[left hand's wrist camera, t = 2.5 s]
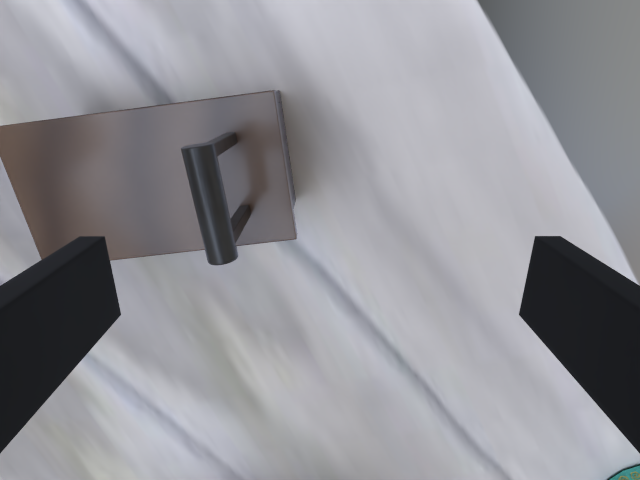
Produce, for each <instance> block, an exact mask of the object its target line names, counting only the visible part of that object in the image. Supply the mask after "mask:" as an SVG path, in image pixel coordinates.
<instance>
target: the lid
mask: <svg viewBox="0 0 640 480" xmlns="http://www.w3.org/2000/svg"><path fill="white" fill-rule="evenodd" d="M0 157H1V159H2V162H3V164H4V167H5V169H6V172H7V174H8V177H9V179H10V182H11V184H12V187H13V189H14V192H15V194H16V197H17V199H18V202H19V204H20V207H21V209H22V212H23V214H24V217H25V219H26V222H27V224H28V227H29V229H30V232H31V234H32V237H33V239H34V242H35V244H36V247H37V249H38V252H39V254H40V256H41V259H42V260H43V259H44V258H46V257H47V256H49V255H51V254H52V253H54V252H55V251H57V250H59V249H60V248H62V247H63V246H65V245H67V244H68V243H70V242H71V241H73V240H75V239H76V238H78V237H79V236H105V240H106V244H107V249H108V254H109V259H110V260H118V259H127V258H136V257H145V256H153V255H162V254H171V253H180V252H188V251H197V250H205V251H206V256H207V260H208V263H209V264H211V265H223V264H227V263H230V262H232V261H234V260H236V259H237V257H238V252H237V248H236V246H241V245H250V244H258V243H267V242H276V241H285V240H293V239H296V238H297V230H296V223H295V216H294V210H293V203H292V196H291V190H290V183H289V177H288V170H287V163H286V157H285V150H284V143H283V137H282V130H281V123H280V117H279V110H278V103H277V97H276V91H275V90H272V91H265V92H257V93H249V94H242V95H234V96H226V97H219V98H211V99H203V100H196V101H188V102H180V103H173V104H165V105H157V106H149V107H142V108H134V109H126V110H119V111H111V112H103V113H96V114H88V115H80V116H73V117H65V118H57V119H50V120H42V121H34V122H26V123H19V124H11V125H3V126H0Z"/></svg>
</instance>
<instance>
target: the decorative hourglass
mask: <svg viewBox="0 0 640 480" xmlns="http://www.w3.org/2000/svg"><path fill="white" fill-rule="evenodd" d="M610 480H640V466H637V467H634V468H630V469H627V470H624V471H622V472H621V473H619V474H617V475H616V476H614V477H613V478H611V479H610Z"/></svg>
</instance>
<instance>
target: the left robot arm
mask: <svg viewBox="0 0 640 480" xmlns="http://www.w3.org/2000/svg"><path fill="white" fill-rule="evenodd" d="M120 315H121V313H120V308H119V303H118V298H117V293H116V288H115V283H114V278H113V274H112V269H111V264H110V259H109V254H108V249H107V244H106V240H105V236H79V237H78V238H76V239H75V240H73V241H71V242H70V243H68V244H67V245H65V246H63V247H62V248H60V249H59V250H57V251H55V252H54V253H52V254H51V255H49V256H47V257H46V258H44V259H43V260H41V261H39V262H38V263H36V264H35V265H33V266H31V267H30V268H28V269H27V270H25V271H23V272H22V273H20V274H19V275H17V276H15V277H14V278H12V279H11V280H9V281H7V282H6V283H4V284H3V285H1V286H0V453H1V452H2V451H3V449H4V448H5V447H6V446H7V445H8V444H9V443H10V441H11V440H12V439H13V438H14V437H15V436H16V435H17V433H18V432H19V431H20V430H21V429H22V428H23V427H24V425H25V424H26V423H27V422H28V421H29V420H30V418H31V417H32V416H33V415H34V414H35V413H36V412H37V410H38V409H39V408H40V407H41V406H42V405H43V404H44V402H45V401H46V400H47V399H48V398H49V397H50V396H51V394H52V393H53V392H54V391H55V390H56V389H57V387H58V386H59V385H60V384H61V383H62V382H63V381H64V379H65V378H66V377H67V376H68V375H69V374H70V373H71V371H72V370H73V369H74V368H75V367H76V366H77V365H78V363H79V362H80V361H81V360H82V359H83V358H84V356H85V355H86V354H87V353H88V352H89V351H90V350H91V348H92V347H93V346H94V345H95V344H96V343H97V342H98V340H99V339H100V338H101V337H102V336H103V335H104V333H105V332H106V331H107V330H108V329H109V328H110V327H111V325H112V324H113V323H114V322H115V321H116V320H117V319H118V317H119V316H120ZM519 315H520V316H521V317H522V319H523V320H524V321H525V322H526V323H527V324H528V325H529V327H530V328H531V329H532V330H533V331H534V332H535V333H536V335H537V336H538V337H539V338H540V339H541V340H542V342H543V343H544V344H545V345H546V346H547V347H548V348H549V350H550V351H551V352H552V353H553V354H554V355H555V356H556V358H557V359H558V360H559V361H560V362H561V363H562V365H563V366H564V367H565V368H566V369H567V370H568V371H569V373H570V374H571V375H572V376H573V377H574V378H575V379H576V381H577V382H578V383H579V384H580V385H581V386H582V387H583V389H584V390H585V391H586V392H587V393H588V394H589V396H590V397H591V398H592V399H593V400H594V401H595V402H596V404H597V405H598V406H599V407H600V408H601V409H602V410H603V412H604V413H605V414H606V415H607V416H608V417H609V418H610V420H611V421H612V422H613V423H614V424H615V425H616V427H617V428H618V429H619V430H620V431H621V432H622V433H623V435H624V436H625V437H626V438H627V439H628V440H629V441H630V443H631V444H632V445H633V446H634V447H635V448H636V449H637V451H638V452H639V453H640V286H639V285H637V284H636V283H634V282H633V281H631V280H629V279H628V278H626V277H625V276H623V275H621V274H620V273H618V272H617V271H615V270H613V269H612V268H610V267H609V266H607V265H605V264H604V263H602V262H601V261H599V260H597V259H596V258H594V257H593V256H591V255H589V254H588V253H586V252H585V251H583V250H581V249H580V248H578V247H577V246H575V245H573V244H572V243H570V242H569V241H567V240H565V239H564V238H562V237H561V236H535V240H534V244H533V249H532V254H531V259H530V264H529V269H528V274H527V278H526V283H525V288H524V293H523V298H522V303H521V308H520V313H519Z"/></svg>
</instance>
